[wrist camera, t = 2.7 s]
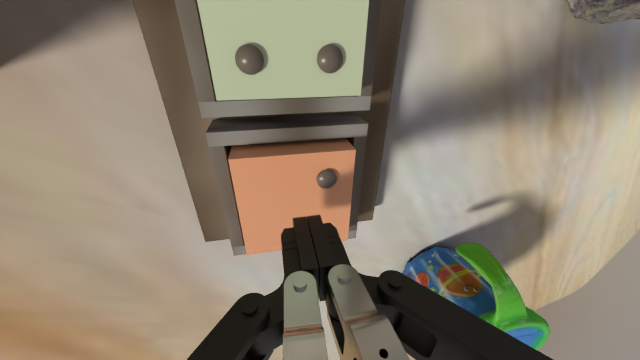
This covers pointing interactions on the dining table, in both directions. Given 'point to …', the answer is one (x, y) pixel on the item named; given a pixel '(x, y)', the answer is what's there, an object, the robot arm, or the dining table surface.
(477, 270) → the snack cup
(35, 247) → the dining table surface
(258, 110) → the button panel
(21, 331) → the dining table surface
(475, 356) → the robot arm
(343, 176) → the orange flat square block
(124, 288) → the dining table surface
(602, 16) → the mineral rock
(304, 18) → the sage button
